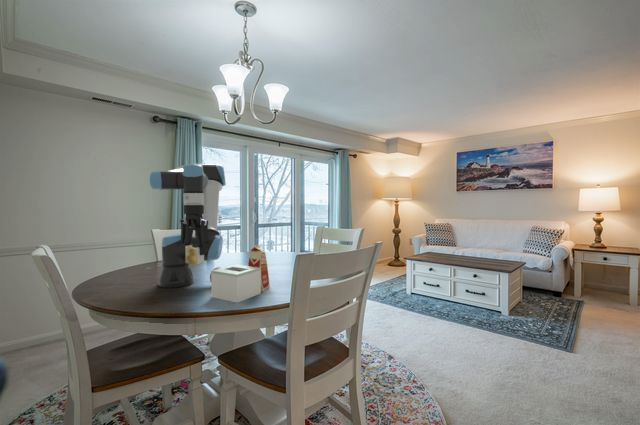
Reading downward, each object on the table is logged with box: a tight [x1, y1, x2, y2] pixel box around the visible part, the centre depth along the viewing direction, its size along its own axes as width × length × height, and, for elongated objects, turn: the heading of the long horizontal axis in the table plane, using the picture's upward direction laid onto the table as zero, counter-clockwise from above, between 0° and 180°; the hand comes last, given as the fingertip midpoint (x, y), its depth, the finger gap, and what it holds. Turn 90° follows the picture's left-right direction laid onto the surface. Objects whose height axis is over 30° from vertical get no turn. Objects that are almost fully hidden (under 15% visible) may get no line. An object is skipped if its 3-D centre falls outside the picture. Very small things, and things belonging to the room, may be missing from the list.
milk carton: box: [247, 244, 271, 292], centre depth 149 cm, size 9×9×20 cm
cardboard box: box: [186, 247, 203, 266], centre depth 132 cm, size 6×3×6 cm, turn 60°
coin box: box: [210, 263, 262, 303], centre depth 138 cm, size 14×14×11 cm
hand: (194, 262), depth 133 cm, fingers closed on cardboard box, 6 cm apart
